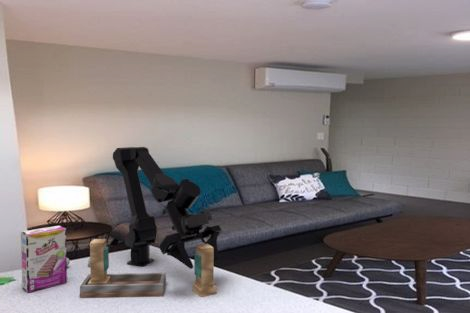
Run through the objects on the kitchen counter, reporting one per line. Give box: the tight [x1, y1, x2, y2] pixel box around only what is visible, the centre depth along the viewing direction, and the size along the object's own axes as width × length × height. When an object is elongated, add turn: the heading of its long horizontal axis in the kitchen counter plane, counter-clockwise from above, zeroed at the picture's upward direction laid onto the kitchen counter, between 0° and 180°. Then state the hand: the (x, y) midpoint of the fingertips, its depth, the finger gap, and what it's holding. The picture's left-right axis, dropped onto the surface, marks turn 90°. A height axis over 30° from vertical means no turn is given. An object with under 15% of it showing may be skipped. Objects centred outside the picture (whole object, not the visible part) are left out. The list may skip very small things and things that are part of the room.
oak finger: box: [192, 243, 218, 298], centre depth 120 cm, size 5×5×13 cm
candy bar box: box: [20, 225, 68, 293], centre depth 123 cm, size 11×5×16 cm, turn 134°
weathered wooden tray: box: [79, 238, 167, 299], centre depth 121 cm, size 22×10×14 cm, turn 94°
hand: (205, 264), depth 119 cm, fingers open, 9 cm apart
